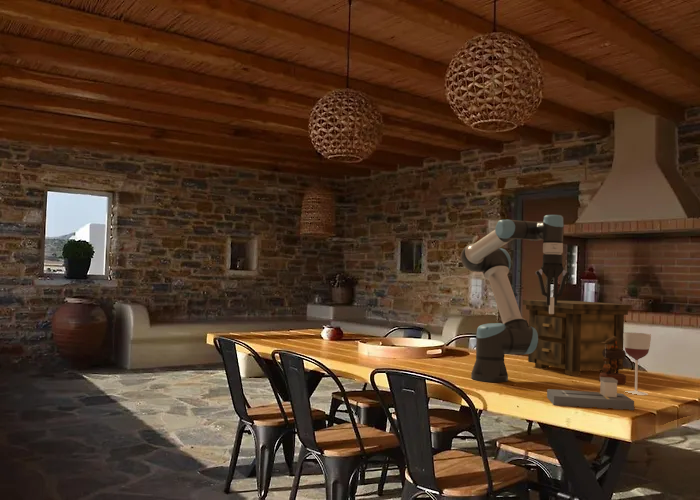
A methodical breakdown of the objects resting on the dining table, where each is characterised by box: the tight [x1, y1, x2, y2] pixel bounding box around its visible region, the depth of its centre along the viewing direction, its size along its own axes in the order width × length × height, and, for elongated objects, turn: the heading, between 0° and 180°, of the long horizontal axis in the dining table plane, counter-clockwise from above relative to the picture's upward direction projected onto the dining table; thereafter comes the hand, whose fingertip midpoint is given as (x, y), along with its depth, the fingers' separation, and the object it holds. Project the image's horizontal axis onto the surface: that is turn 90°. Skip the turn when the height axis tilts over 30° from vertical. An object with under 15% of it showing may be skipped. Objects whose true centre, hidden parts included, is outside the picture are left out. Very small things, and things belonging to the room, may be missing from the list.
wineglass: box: [623, 332, 652, 396], centre depth 245 cm, size 9×10×23 cm
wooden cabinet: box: [522, 299, 633, 376], centre depth 302 cm, size 35×35×33 cm
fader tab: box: [599, 376, 618, 397], centre depth 219 cm, size 4×6×6 cm
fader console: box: [546, 388, 635, 411], centre depth 220 cm, size 26×14×3 cm, turn 82°
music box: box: [599, 336, 627, 385], centre depth 270 cm, size 15×11×20 cm
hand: (551, 313), depth 248 cm, fingers closed
